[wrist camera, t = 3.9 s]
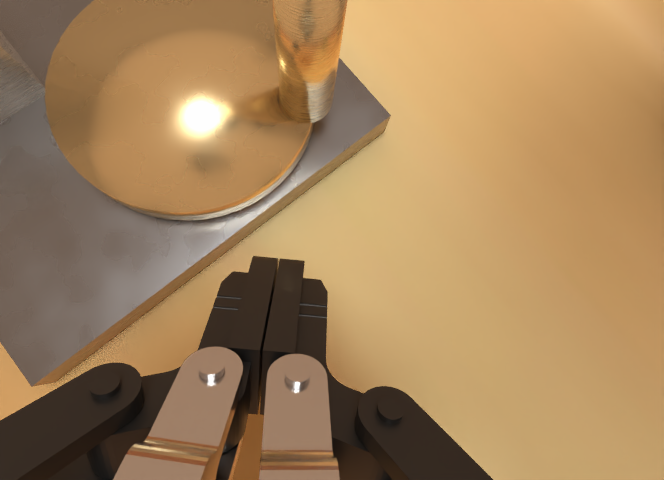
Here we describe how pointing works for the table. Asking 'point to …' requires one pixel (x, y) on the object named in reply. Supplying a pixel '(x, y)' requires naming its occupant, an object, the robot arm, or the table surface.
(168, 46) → the brass dish with post
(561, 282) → the table surface
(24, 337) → the base
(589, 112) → the table surface
